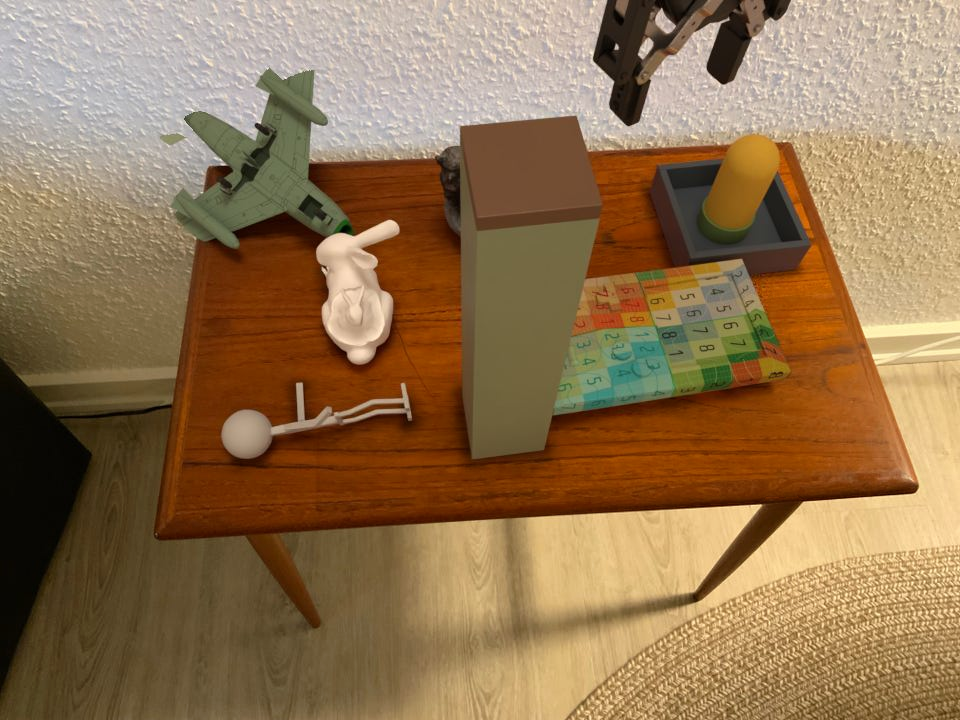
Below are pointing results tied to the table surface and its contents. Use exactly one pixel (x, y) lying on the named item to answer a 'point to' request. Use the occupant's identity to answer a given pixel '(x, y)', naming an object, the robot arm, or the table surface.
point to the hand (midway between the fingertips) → (672, 96)
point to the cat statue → (451, 185)
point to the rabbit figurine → (356, 292)
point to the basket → (763, 250)
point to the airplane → (261, 168)
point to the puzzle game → (667, 337)
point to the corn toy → (739, 189)
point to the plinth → (521, 273)
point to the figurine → (292, 424)
